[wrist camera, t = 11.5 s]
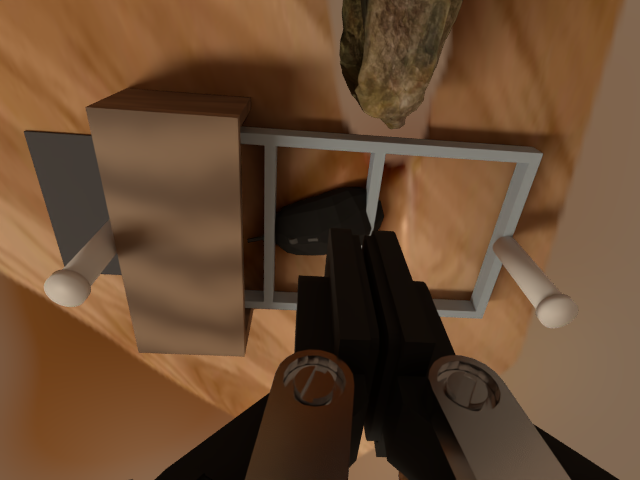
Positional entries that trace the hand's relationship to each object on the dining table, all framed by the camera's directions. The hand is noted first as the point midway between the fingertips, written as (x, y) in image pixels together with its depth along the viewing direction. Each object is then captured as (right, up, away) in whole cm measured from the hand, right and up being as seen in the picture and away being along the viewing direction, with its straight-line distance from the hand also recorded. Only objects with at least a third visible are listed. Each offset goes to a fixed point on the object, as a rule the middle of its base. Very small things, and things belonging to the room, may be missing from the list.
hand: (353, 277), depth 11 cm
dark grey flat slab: (-26, +4, +31) cm, 40 cm away
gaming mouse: (-2, +3, +32) cm, 32 cm away
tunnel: (-14, +3, +32) cm, 34 cm away
